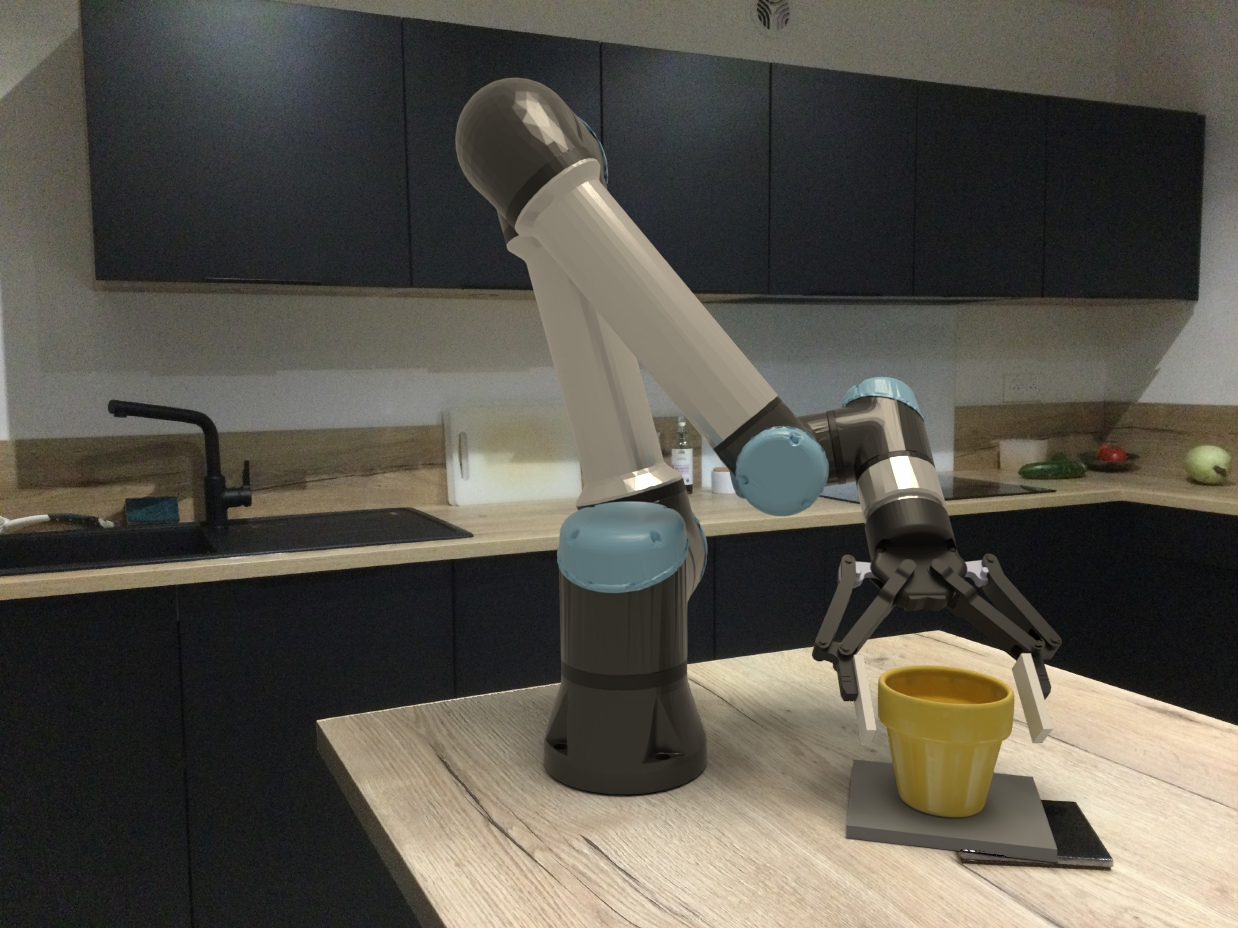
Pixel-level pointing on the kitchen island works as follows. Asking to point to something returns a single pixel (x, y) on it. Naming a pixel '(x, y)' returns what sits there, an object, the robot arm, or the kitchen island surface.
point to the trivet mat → (999, 827)
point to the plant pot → (944, 735)
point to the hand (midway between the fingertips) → (955, 737)
